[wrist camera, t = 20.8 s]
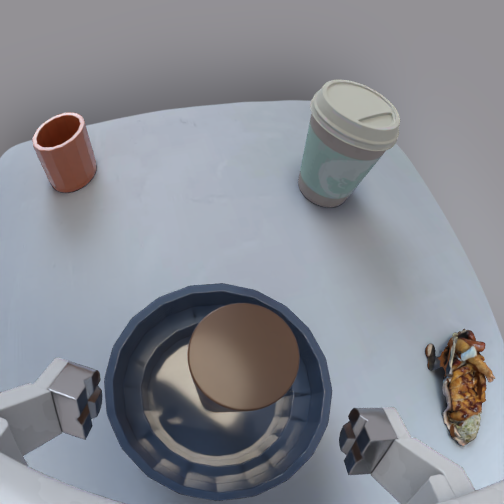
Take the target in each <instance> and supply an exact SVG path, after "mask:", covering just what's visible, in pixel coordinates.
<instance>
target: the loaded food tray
mask: <svg viewBox="0 0 504 504" xmlns="http://www.w3.org/2000/svg"><path fill="white" fill-rule="evenodd" d="M452 336H453V337H452V338H450V340H449V342H448V343H447V345H448V346H447V347H445V349H444V351H442V353H441V356H440V357H436V356H435V347H434V345H433V344H429V345H427V347H426V351H425V352H426V356H427V357H428V369H430V370H436V369H437V368H439V367H443V368H444V370H445V375H444V376H445V377H444V381H443V388H442V389H443V395H444V396H446V401H447V404H448V407H447V409H446V410H444V412H443V413H442V415H443V416H444V424H447V426H448V429H450V435H451V436H452V438H453V439H455V440H457V441H458V443H459V444H460V445H462V446H464V445H466V444H467V443H469V442H471V441H472V440H474V439H475V438H476V436H477V433H478V430H479V426H480V420H481V417H480V414H481V413H482V411H481V410H482V409H481V407H482V403H483V402H485V401H486V399H485V391H486V378H487V380H488V382H493V379H495V377H494V375H493V374H492V371H491V369H489V368H488V366H487V365H486V363H485V362H483V361H484V360H485V359H484V357H483V356H482V355H481V354H480V353H479V352H482V351H483V350H484V349H485V343H484V342H478V341H476V339H475V336H474V334H473V332H472V331H470V330H465V329H463V331H461V332H460V331H459V332H458V333H453V335H452ZM484 375H485V376H486V378H485V376H484Z"/></svg>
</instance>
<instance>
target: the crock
mask: <svg viewBox="0 0 504 504" xmlns="http://www.w3.org/2000/svg"><path fill="white" fill-rule="evenodd" d="M32 141H33V147H34V149H35V151H36V153H37V156H38V158H39V160H40V162H41V165H42V167H43V169H44V171H45V173H46V175H47V177H48V179H49V181H50V183H51V185H52V186H53V188H54V189H55V190H57V191H59V192H65V193H67V192H73V191H76V190H78V189H80V188H82V187H84V186H85V185H86V184H88V183H89V182H90V181H91V179H92V178H93V177H94V175H95V173H96V168H97V165H96V160H95V157H94V153H93V150H92V146H91V143H90V139H89V136H88V132H87V129H86V125H85V121H84V119H83V117H82V116H81V115H79V114H77V113H63V114H60V115H57V116H54V117H52V118H50V119H49V120H47V121H46V122H44V123H43V124H42V125H41V126H40V127H39V128H38V129H37V130H36V132H35V134H34V136H33V139H32Z"/></svg>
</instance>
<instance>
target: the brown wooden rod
mask: <svg viewBox="0 0 504 504" xmlns="http://www.w3.org/2000/svg"><path fill="white" fill-rule="evenodd" d="M187 357H188V366H189V370H190V373H191V376H192V379H193V382H194V385H195V388H196V390H197V393H198V396H199V399H200V401H201V403H202V405H203V406H204V407H205V408H206V409H207V410H209V411H211V412H216V413H220V412H243V411H255V410H259V409H263V408H265V407H268V406H270V405H272V404H274V403H275V402H277V401H278V400H280V399H281V398H282V397H283V396H284V395H285V394H286V393H287V392H288V390H289V389H290V388H291V386H292V385H293V383H294V381H295V378H296V376H297V373H298V369H299V358H300V355H299V348H298V344H297V341H296V338H295V336H294V334H293V332H292V330H291V329H290V327H289V326H288V325H287V323H286V322H285V321H284V320H283V319H282V318H280V317H279V316H278V315H277V314H275V313H274V312H272V311H271V310H269V309H267V308H264V307H262V306H259V305H255V304H249V303H235V304H229V305H226V306H222V307H220V308H218V309H216V310H214V311H212V312H211V313H209V314H208V315H207V316H205V317H204V318H203V319H202V320H201V321H200V323H199V324H198V325H197V327H196V328H195V330H194V332H193V333H192V336H191V338H190V341H189V345H188V353H187Z"/></svg>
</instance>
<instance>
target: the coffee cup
mask: <svg viewBox="0 0 504 504" xmlns="http://www.w3.org/2000/svg"><path fill="white" fill-rule="evenodd" d="M310 108H311V112H312V114H311V119H310V124H309V129H308V134H307V139H306V144H305V149H304V154H303V159H302V164H301V169H300V174H299V179H298V185H299V188H300V190H301V192H302V193H303V195H304V196H305V197H306V198H307V199H308V200H310V201H311V202H313V203H315V204H317V205H319V206H323V207H336V206H339V205H341V204H342V203H343V202H344V201H345V200H346V199H347V198H348V197H349V195H350V194H351V193H352V192H353V191H354V189H355V188H356V187H357V186H358V185H359V183H360V182H361V181H362V180H363V178H364V177H365V176H366V175H367V173H368V172H369V171H370V170H371V169H372V167H373V166H374V165H375V164H376V162H377V161H378V160H379V159H380V157H381V156H382V155H383V154H384V152H385V151H386V150H388V149H390V148H392V147H393V146H394V145H395V143H396V141H397V137H398V135H399V124H400V117H399V114H398V112H397V110H396V109H395V107H394V106H393V105H392V104H391V103H390V102H389V101H388V100H387V99H386V98H385V97H384V96H382V95H381V94H379V93H378V92H376V91H375V90H373V89H371V88H369V87H367V86H365V85H362V84H359V83H356V82H352V81H348V80H332V81H330V82H327V83H326V84H324V86H323V87H322V88H321V90H319V91H318V92H317V93H316V94H315V95H314V98H313V99H312V101H311V104H310Z"/></svg>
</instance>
